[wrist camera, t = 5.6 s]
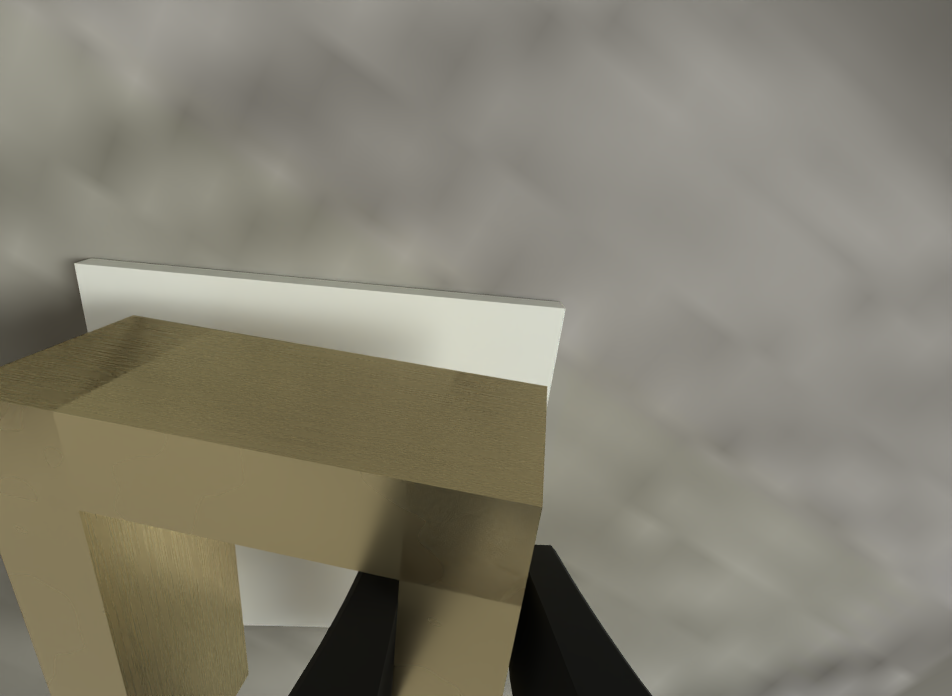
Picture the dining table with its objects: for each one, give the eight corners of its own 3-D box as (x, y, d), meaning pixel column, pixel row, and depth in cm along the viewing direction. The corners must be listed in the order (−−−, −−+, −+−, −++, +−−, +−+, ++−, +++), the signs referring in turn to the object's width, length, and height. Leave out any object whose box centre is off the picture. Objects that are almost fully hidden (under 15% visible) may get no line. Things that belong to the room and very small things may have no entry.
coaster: (560, 301, 13) (565, 308, 13) (502, 616, 18) (503, 631, 17) (91, 258, 12) (73, 263, 12) (154, 606, 17) (144, 622, 16)
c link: (547, 386, 9) (542, 507, 6) (480, 731, 14) (457, 907, 11) (133, 314, 10) (-58, 389, 7) (191, 660, 15) (89, 803, 11)
